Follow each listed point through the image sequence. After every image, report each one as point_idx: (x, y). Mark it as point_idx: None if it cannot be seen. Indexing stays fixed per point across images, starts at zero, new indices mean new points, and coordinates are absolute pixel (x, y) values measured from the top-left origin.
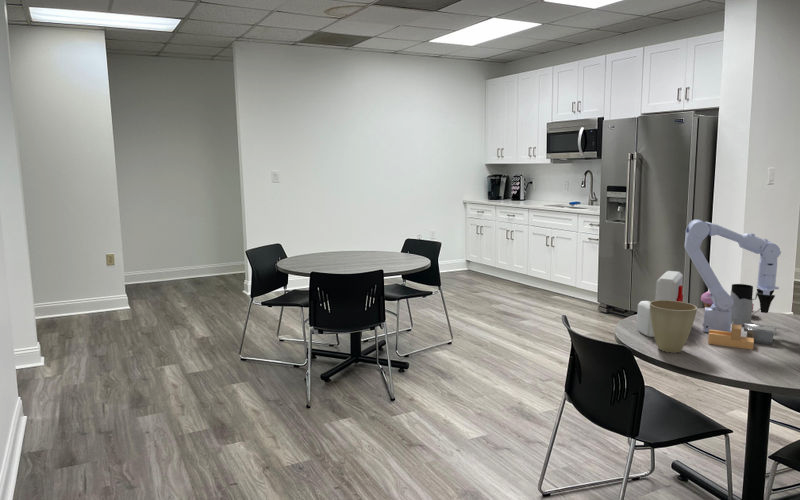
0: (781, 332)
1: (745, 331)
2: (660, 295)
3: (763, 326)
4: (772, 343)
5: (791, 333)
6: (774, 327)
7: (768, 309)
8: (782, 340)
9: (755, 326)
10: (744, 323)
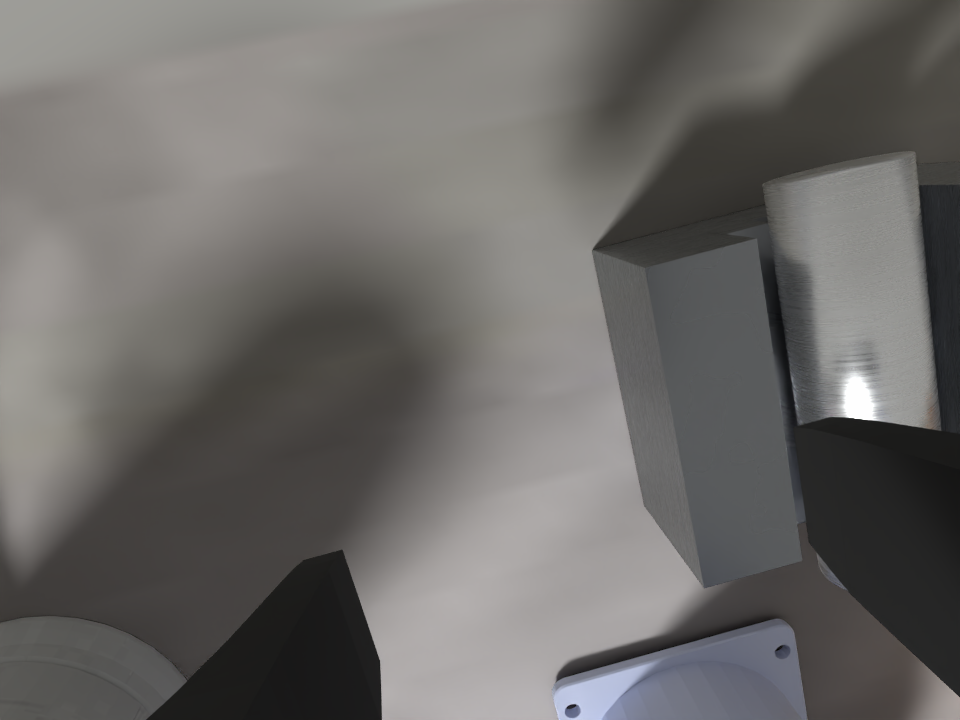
0: (185, 215)
1: None
2: None
3: (917, 346)
4: (937, 163)
5: (130, 90)
6: (890, 191)
7: (911, 431)
8: (621, 111)
9: None
10: None
